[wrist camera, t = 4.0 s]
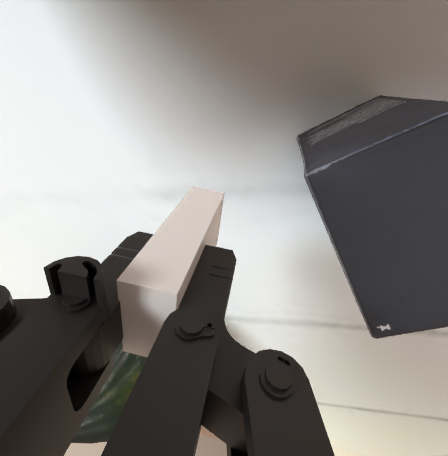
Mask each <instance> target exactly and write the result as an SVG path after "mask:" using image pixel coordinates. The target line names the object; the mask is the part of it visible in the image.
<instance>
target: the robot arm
mask: <svg viewBox="0 0 448 456" xmlns="http://www.w3.org/2000/svg"><path fill="white" fill-rule="evenodd" d="M223 199H224V193H222V192H217V191H212V190H207V189H202V188H196V187H192V188H191V189H190V190H189V191H188V193H187V194H186V195H185V196H184V198H183V199H182V200H181V201H180V203H179V204H178V205H177V206H176V208H175V209H174V210H173V211H172V212H171V214H170V215H169V216H168V217H167V219H166V220H165V221H164V222H163V224H162V225H161V226H160V227H159V229H158V230H157V231H156V232H155V233H154V235H153V234H148V233H144V232H137V233H135V234H133V235H131V236H129V237H127V238H126V239H125V240H124V241H123V242H122V243H121V244H120V245H119V246H118V248H116V249H115V250H114V251H113V252H112V254H111V255H109V256H108V257H107V258H106V259H105V260H104V261H103V262H102V263H101V264H100V263H99V262H98V260H95V259H93V258H90V257H83V256H75V257H67V258H63V259H60V260H57V261H54V262H52V263H51V264H49V265H47V266H46V267H44V271H45V275H46V279H47V282H48V286H49V289H50V293H51V295H50V296H49V297H48V298H42V299H12V296H11V294H10V292H9V290H8V289H7V288H6V287H5V286H1V285H0V456H64V454H65V452H66V450H67V449H68V447H69V445H70V444H71V442H72V440H73V438H74V436H75V435H76V433H77V431H78V429H79V428H80V426H81V424H82V422H83V421H84V419H85V417H86V415H87V414H88V412H89V410H90V408H91V407H92V405H93V403H94V401H95V399H96V398H97V396H98V394H99V392H100V391H101V389H102V387H103V385H104V384H105V382H106V380H107V378H108V377H109V375H110V373H111V371H112V369H113V366H114V363H115V361H114V352H115V351H116V349H117V347H118V346H119V344H120V342H121V341H122V343H123V351H124V352H128V353H132V354H136V355H140V356H144V357H147V359H146V361H145V363H144V366H143V368H142V370H141V372H140V374H139V376H138V378H137V380H136V383H135V385H134V387H133V389H132V391H131V393H130V395H129V397H128V400H127V402H126V404H125V406H124V408H123V410H122V412H121V414H120V417H119V419H118V421H117V423H116V425H115V427H114V429H113V431H112V434H111V436H110V438H109V440H108V442H107V444H106V446H105V448H104V451H103V453H102V455H101V456H195V453H196V448H197V443H198V438H199V434H200V430H201V425H203V426H204V427H205V428H206V429H208V430H209V431H210V432H212V433H213V434H214V435H216V436H217V437H218V438H219V439H221V440H222V441H223V442H225V443H226V444H227V456H334V453H333V450H332V447H331V444H330V441H329V438H328V435H327V432H326V429H325V426H324V423H323V420H322V417H321V414H320V412H319V409H318V406H317V403H316V400H315V397H314V394H313V391H312V388H311V385H310V382H309V379H308V378H307V376H306V374H305V372H304V370H303V368H302V367H301V366H300V365H299V364H298V363H297V362H296V361H295V360H294V359H293V358H292V357H291V356H289V355H287V354H285V353H283V352H282V351H277V350H272V349H268V350H262V351H259V352H257V353H256V354H255V353H254V352H252V351H250V350H248V349H247V348H245V347H243V346H242V345H240V344H239V343H238V342H236V341H235V340H234V339H233V338H232V337H231V336H230V334H229V333H228V331H227V329H226V326H225V322H224V318H225V313H226V308H227V304H228V299H229V294H230V290H231V285H232V280H233V275H234V270H235V265H236V258H235V255H234V253H233V250H228V249H224V248H219V247H216V244H217V240H218V233H219V226H220V219H221V212H222V206H223Z"/></svg>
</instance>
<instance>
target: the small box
mask: <svg viewBox="0 0 448 456" xmlns="http://www.w3.org/2000/svg"><path fill="white" fill-rule="evenodd" d="M297 141H298V144H299V146H300V150H301V154H302V158H303V162H304V177H305V180H306V182H307V184H308V187H309V189H310V192H311V194H312V197H313V199H314V201H315V204H316V206H317V209H318V211H319V214H320V216H321V218H322V221H323V223H324V225H325V228H326V230H327V233H328V235H329V237H330V240H331V242H332V245H333V247H334V249H335V252H336V254H337V257H338V259H339V261H340V264H341V266H342V268H343V271H344V273H345V276H346V278H347V280H348V282H349V284H350V287H351V289H352V292H353V294H354V297H355V299H356V302H357V304H358V306H359V308H360V311H361V313H362V315H363V318H364V321H365V322H366V325H367V327H368V330H369V332H370V334H371V336H372V337H373V338H376V339H377V338H383V337H388V336H395V335H401V334H407V333H413V332H419V331H425V330H431V329H437V328H444V327H448V102H447V101H433V100H422V99H410V98H400V97H387V96H378V97H376V98H374V99H372V100H369V101H367V102H365V103H363V104H361V105H359V106H357V107H355V108H353V109H351V110H349V111H347V112H345V113H343V114H341V115H338V116H336V117H334V118H332V119H330V120H328V121H326V122H324V123H322V124H320V125H318V126H316V127H314V128H312V129H310V130H308V131H306V132H304V133H302V134H300V135H298V137H297Z"/></svg>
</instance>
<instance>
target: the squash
mask: <svg viewBox="0 0 448 456" xmlns="http://www.w3.org/2000/svg"><path fill="white" fill-rule="evenodd" d="M146 359H147V357H144V356H140V355H136V354H132V353H128V352H124V351H123V343H122V341H121V342H120V344H119V346H118V347H117V349H116V351H115V352H114V361H115V363H114V366H113V369H112V371H111V373H110V375H109V377H108V378H107V380H106V382H105V384H104V385H103V387H102V389H101V391H100V392H99V394H98V396H97V398H96V399H95V401H94V403H93V405H92V407H91V408H90V410H89V412H88V414H87V415H86V417H85V419H84V421H83V422H82V424H81V426H80V428H79V429H78V431H77V433H76V435H75V436H74V438H73V440H72V442H71V443H98V442H108V440H109V438H110V436H111V434H112V431H113V429H114V427H115V425H116V423H117V421H118V419H119V417H120V414H121V412H122V410H123V408H124V406H125V404H126V402H127V400H128V397H129V395H130V393H131V391H132V389H133V387H134V385H135V383H136V380H137V378H138V376H139V374H140V372H141V370H142V368H143V366H144V363H145V361H146Z"/></svg>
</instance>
